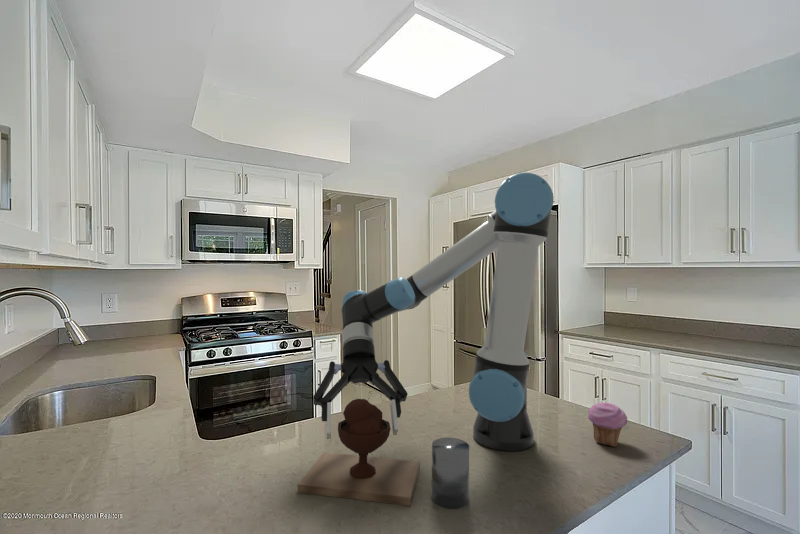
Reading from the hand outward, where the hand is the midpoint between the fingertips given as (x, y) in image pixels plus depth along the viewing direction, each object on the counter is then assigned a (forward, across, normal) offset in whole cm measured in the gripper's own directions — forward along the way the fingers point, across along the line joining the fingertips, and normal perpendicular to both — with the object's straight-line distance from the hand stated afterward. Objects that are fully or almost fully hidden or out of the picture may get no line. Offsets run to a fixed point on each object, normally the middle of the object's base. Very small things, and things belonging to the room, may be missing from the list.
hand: (362, 434), depth 81 cm
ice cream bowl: (+5, 0, -6) cm, 8 cm away
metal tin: (+13, -16, -1) cm, 20 cm away
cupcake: (0, -63, -14) cm, 65 cm away
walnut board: (+6, 0, -7) cm, 10 cm away
